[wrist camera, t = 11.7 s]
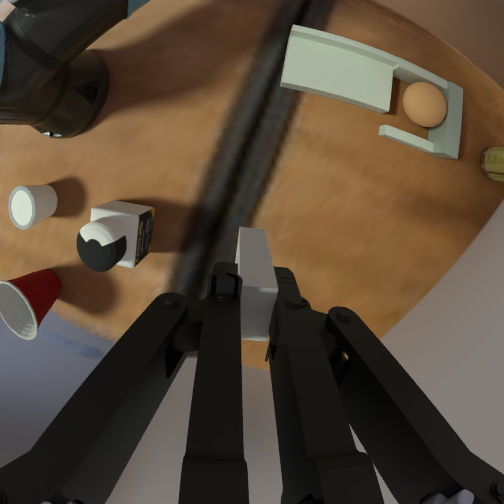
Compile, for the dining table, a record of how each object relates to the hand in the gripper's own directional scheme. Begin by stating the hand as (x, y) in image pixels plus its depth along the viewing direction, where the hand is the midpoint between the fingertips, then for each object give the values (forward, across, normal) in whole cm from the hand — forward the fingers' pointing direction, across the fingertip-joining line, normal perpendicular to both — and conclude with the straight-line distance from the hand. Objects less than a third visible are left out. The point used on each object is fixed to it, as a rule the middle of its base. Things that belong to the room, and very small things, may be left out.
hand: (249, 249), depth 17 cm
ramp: (+25, +17, +16) cm, 34 cm away
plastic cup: (+23, -34, -21) cm, 46 cm away
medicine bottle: (+24, -16, -9) cm, 30 cm away
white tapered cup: (+25, -34, -6) cm, 42 cm away
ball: (+21, +24, +17) cm, 36 cm away
